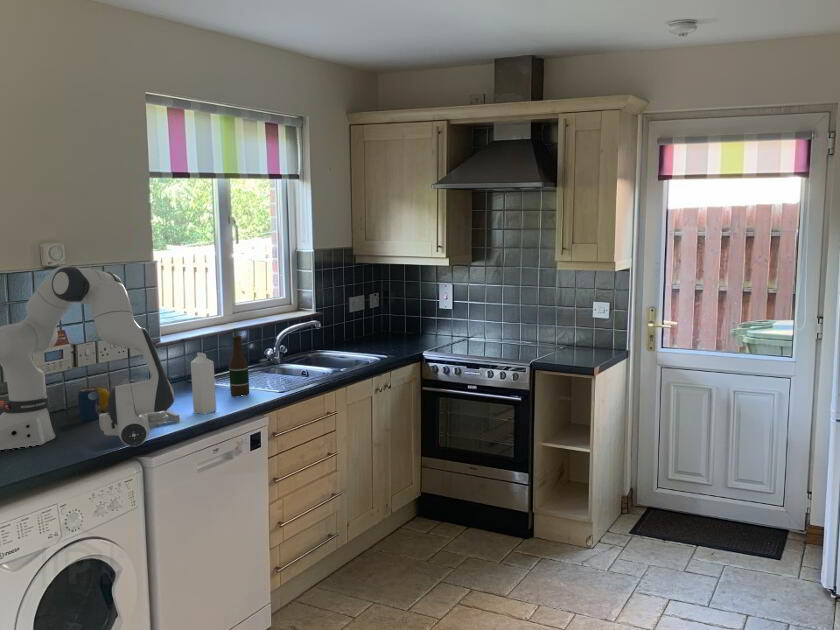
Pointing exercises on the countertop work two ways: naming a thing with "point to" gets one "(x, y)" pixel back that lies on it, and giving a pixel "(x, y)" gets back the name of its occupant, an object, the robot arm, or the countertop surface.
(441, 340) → the countertop surface
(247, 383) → the beer bottle
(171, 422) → the white ridged flat base
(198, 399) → the milk
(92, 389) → the soda can
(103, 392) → the yellow bell pepper
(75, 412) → the countertop surface
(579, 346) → the countertop surface
